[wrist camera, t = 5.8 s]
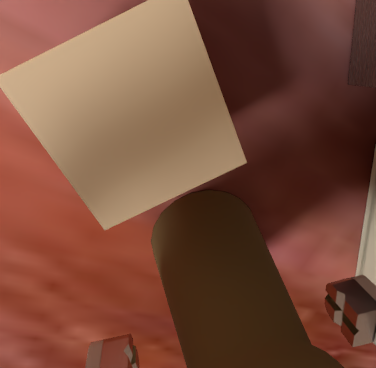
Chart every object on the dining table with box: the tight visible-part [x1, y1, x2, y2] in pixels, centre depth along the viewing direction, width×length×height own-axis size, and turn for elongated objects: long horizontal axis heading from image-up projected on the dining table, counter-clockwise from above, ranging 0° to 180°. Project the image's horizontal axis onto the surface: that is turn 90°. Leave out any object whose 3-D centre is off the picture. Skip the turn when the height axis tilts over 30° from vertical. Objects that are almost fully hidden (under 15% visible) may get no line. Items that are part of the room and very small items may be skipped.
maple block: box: [0, 0, 247, 230], centre depth 10 cm, size 5×5×5 cm
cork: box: [151, 190, 344, 368], centre depth 11 cm, size 6×6×11 cm
